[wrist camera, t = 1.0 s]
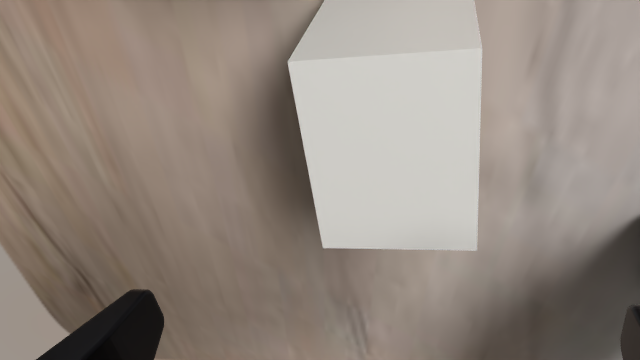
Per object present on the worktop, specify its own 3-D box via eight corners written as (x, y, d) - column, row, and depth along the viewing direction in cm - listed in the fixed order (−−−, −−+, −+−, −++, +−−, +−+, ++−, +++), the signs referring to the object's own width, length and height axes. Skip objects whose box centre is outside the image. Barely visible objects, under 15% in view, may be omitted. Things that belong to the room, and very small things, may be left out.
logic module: (469, -31, 17) (482, 48, 12) (467, 132, 21) (476, 254, 15) (334, -17, 18) (287, 61, 13) (354, 136, 22) (323, 251, 16)
